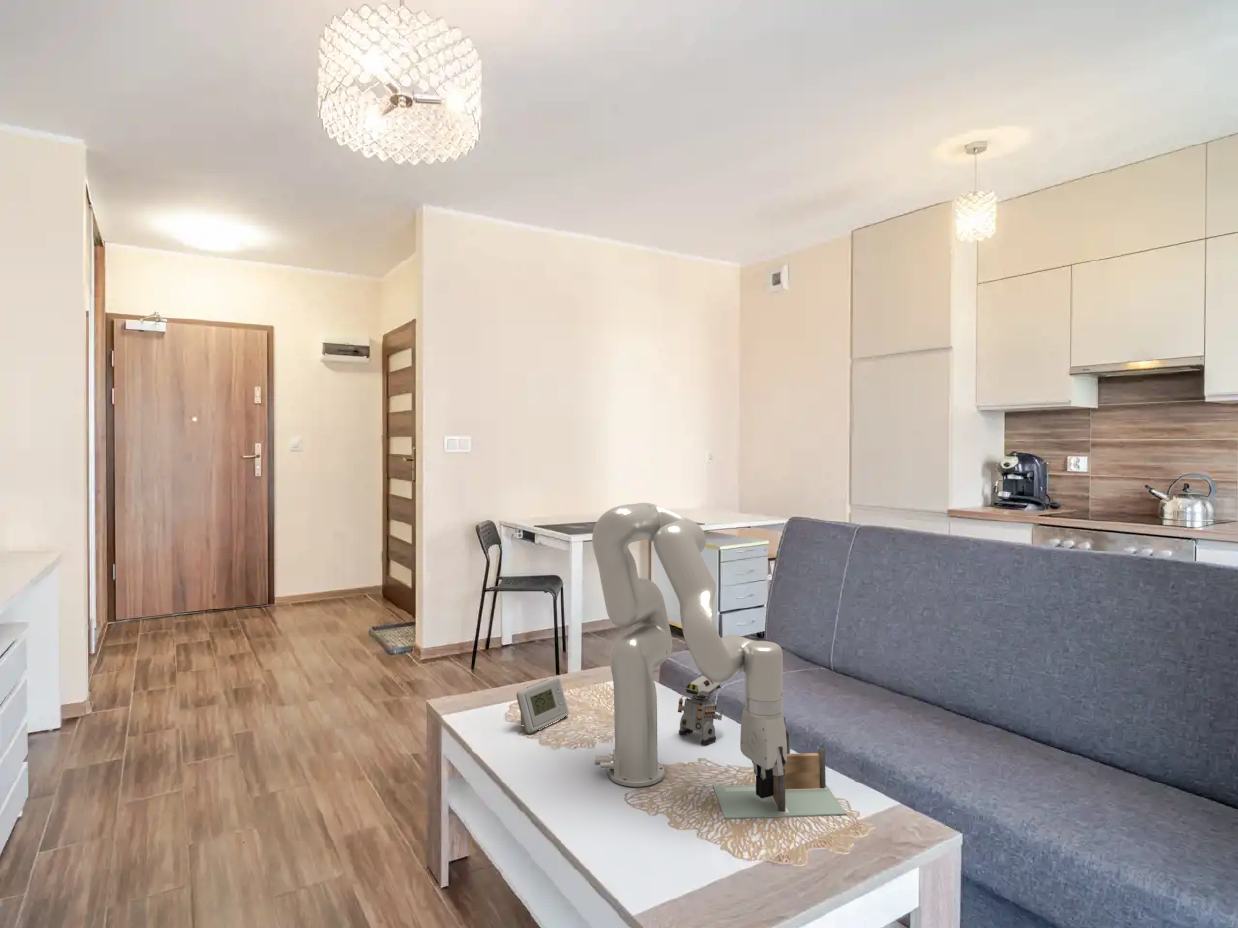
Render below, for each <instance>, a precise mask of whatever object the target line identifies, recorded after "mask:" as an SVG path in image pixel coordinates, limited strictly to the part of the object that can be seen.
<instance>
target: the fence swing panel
mask: <svg viewBox="0 0 1238 928" xmlns="http://www.w3.org/2000/svg"><path fill="white" fill-rule="evenodd" d="M783 773H784V774H783V775H781V776H775V777H774V795H773V798H774V800H775V803H776V805H777V807H778V810H779V811H782V812H784V811H785V810H786V806H785V769H784V768H783Z"/></svg>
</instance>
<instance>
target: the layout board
mask: <svg viewBox="0 0 1238 928" xmlns="http://www.w3.org/2000/svg"><path fill="white" fill-rule="evenodd" d="M713 790H714V793H715V795H716V798H718V799H717V801H718V804H719V806H720V810H721V812H722V814H723V817H724V819H725V820H730V819H731V820H732V819H737V820H738V819H762V818H764V819H765V818H767V819H768V818H792V817H793V818H794V817H795V818H796V817H824V816H829V817H830V816H831V817H832V816H847V814H848V813H847V812H846V810H845V809H844V808H843V806H842V805H841V803H840V802H839V801H838V799H837V797H835V795H834V794H833V792H832V791H831V789H830V788H829V787H828V785H827V784H826V788H824V789H822V788H818V789H785V806H786V810H785V811H784V812H782V811H779V810H778V807H777V805H776V803H775V800H774V798H773V796H770V797H766V798H760V797H759V796H757V795H756V784H734V785H733V784H729V785H726V784H725V785H713Z"/></svg>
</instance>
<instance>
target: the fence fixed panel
mask: <svg viewBox="0 0 1238 928" xmlns="http://www.w3.org/2000/svg"><path fill="white" fill-rule="evenodd" d="M817 750H818V751H817V752H812V753H811V752H809V753H807V752H805V753H804V752H803V753H790V754H787V762H786V765H785V766H783V768H784V769H785V789H818V788H822V789H824V788H826V785H827V784H826V783H827V782H826V749H825V748H823V747H819V748H817Z"/></svg>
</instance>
